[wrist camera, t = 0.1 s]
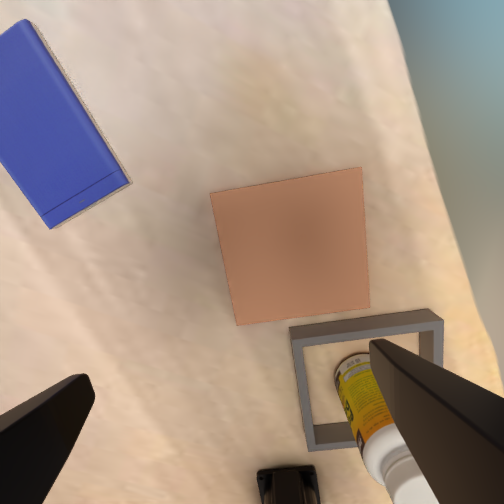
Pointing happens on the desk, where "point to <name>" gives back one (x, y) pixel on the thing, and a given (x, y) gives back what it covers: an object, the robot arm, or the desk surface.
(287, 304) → the pad
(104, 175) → the hard drive
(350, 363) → the supplement bottle
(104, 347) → the desk surface
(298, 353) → the square frame
